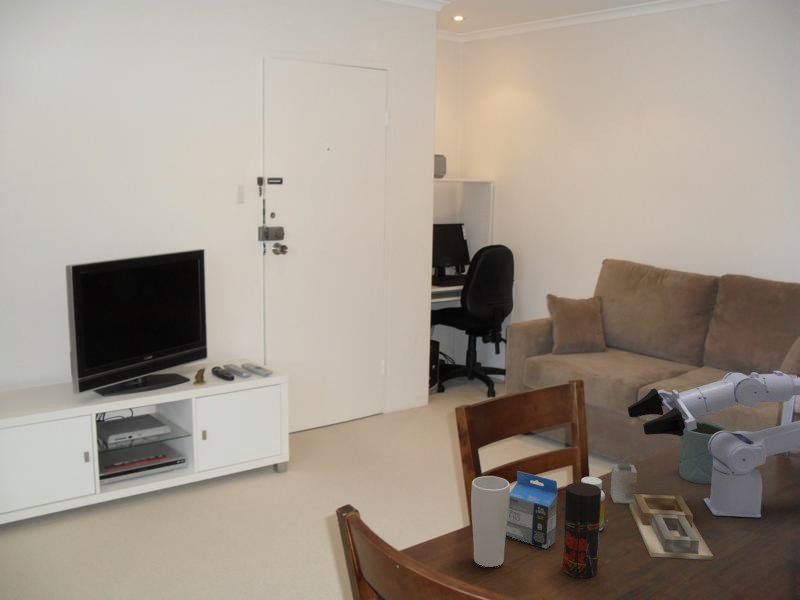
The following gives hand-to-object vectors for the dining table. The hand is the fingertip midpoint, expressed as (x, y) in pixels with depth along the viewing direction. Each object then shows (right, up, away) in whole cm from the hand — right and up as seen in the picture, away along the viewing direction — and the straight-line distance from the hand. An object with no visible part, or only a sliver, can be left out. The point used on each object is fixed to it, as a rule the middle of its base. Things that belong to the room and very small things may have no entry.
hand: (636, 420), depth 164 cm
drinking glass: (-32, -23, -19) cm, 43 cm away
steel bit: (0, -18, +10) cm, 21 cm away
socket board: (+4, -21, -6) cm, 22 cm away
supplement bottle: (-10, -21, -4) cm, 23 cm away
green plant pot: (+21, -17, +23) cm, 35 cm away
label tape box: (-23, -21, -10) cm, 33 cm away
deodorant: (-16, -23, -21) cm, 35 cm away
